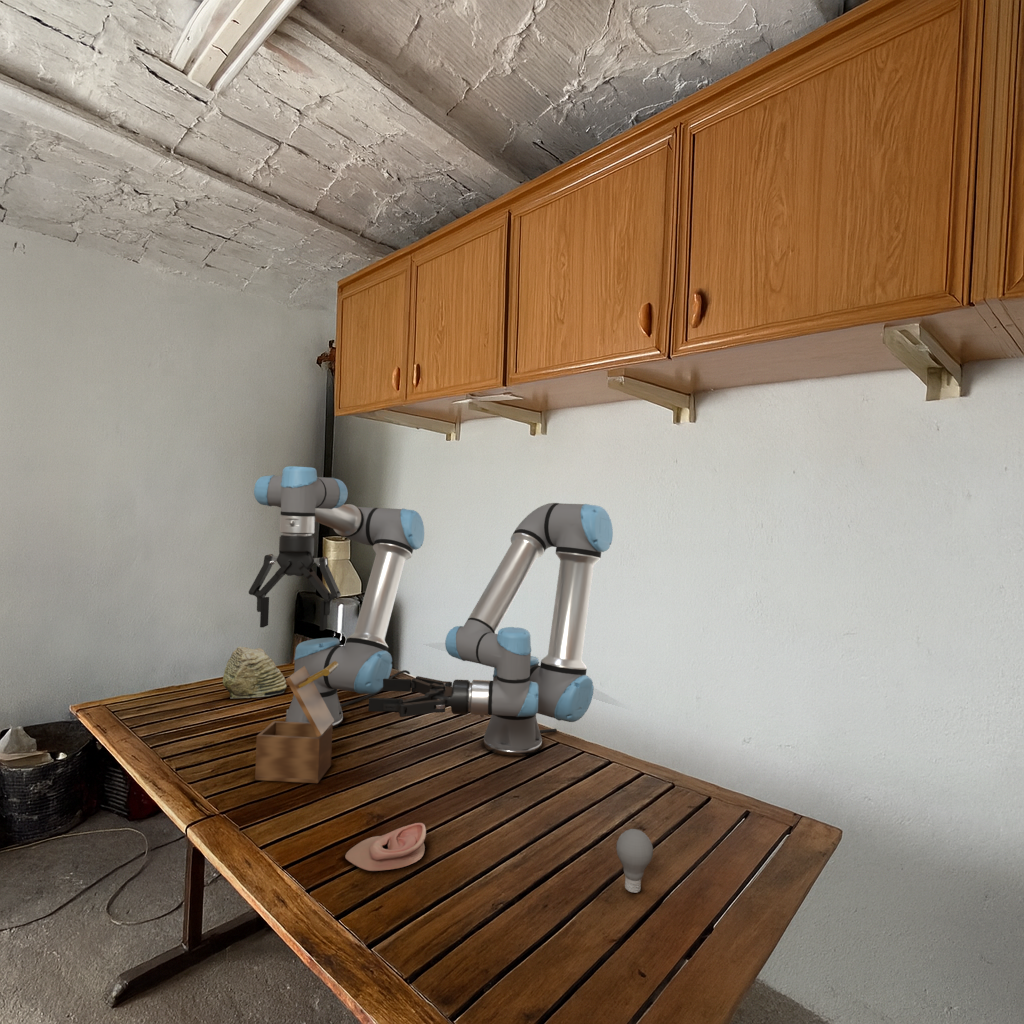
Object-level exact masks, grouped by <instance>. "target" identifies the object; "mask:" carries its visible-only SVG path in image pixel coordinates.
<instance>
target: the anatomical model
mask: <svg viewBox="0 0 1024 1024" xmlns="http://www.w3.org/2000/svg"><path fill="white" fill-rule="evenodd" d="M426 837H427V827H426V824H425V823H423V822H415V823H412V824H408V825H404V826H402V827H399V828H396V829H394V830H392V831H390V832H388V833H384V834H382V835H375V836H372V837H367V838H365V839H364V840H361V841H360V842H358V843H357V844H356V845H353V847H351V848H350V849H349V850H348V851H347V852H346V853H345V856H344V857H345V860H347V862H349V863H350V864H352V865H354V866H356V867H357V868H360V869H362V870H364V871H367V872H378V871H380V872H381V871H389V870H396V869H400V868H404V867H407V866H410V865H412V864H415V863H417V862H418V861H420V860H421V859H422V858H423V857H424V854H425V851H426V849H425V848H426V846H425V843H424V842H425V840H426Z"/></svg>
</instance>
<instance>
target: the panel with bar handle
mask: <svg viewBox="0 0 1024 1024" xmlns="http://www.w3.org/2000/svg"><path fill="white" fill-rule="evenodd" d="M337 667H338V663H337V662H336V661H334V662H332V663H331V664H330V665H329V666H327V667H326V668H325V669H323V670H321V671H319V672H318V673H316V674H314V675H312V676H310V675H309V673H308V671H307V669H306V668H305V666H304V667H302V668H300V669H299V670H298V671H296V672H295V673H294V672H293V673H292V674H291V675H289V676H288V677H286V678H285V680H286V683H287V684H288V686H289V688H290V690H291V691H292V693H293V696H294V695H295V697H296V699H297V701H298V702H299V704H300V706H301V708H302V710H303V712H304V713H305V715H306V717H307V719H308V721H309V723H310V724H311V726H312V728H313V730H314V732H315V733H316V735H317V737H319V736H321V735H322V734H323V733H324V732H325V731H326V730H327V728H328V727H329V726H330V725H331V724H332V723H333V722H334V719H333V717H332V715H331V713H330V711H329V710H328V708H327V706H326V704H325V702H324V700H323V699H322V697H321V695H320V693H319V691H318V689H317V688H316V686H315V684H314V682H313V681H314V680H316V679H318V678H320V677H322V676H323V675H324V676H328V675H329V674H330V673H331V672H332V671H334V670H335V669H336V668H337Z"/></svg>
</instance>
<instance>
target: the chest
mask: <svg viewBox="0 0 1024 1024" xmlns="http://www.w3.org/2000/svg"><path fill="white" fill-rule="evenodd" d="M332 726H333V724H331V725H330V726H329V727H328V728H327V730H326V731H325V732H324V733H323V734H322V735H321V736H319V737H317V735H316V733H315V732H314V730H313V728H312V726H311V724H310V723H303V722H286V721H282V720H280V721H279V720H273V721H272V722H271V723H269V725H267V726H266V727H265V728H264V729H263V730H262V731H260V732H259V733H258V734H256V739H255V740H256V741H255V771H254V780H255V781H268V782H282V783H283V782H284V783H285V782H287V783H302V784H303V783H305V784H319V783H320V782H321V780H322V779H323V777H324V776H325V774H326V773H327V772H328V771H329V769H330V767H331V766H332V751H333V750H332V749H333V748H332V747H333V729H332Z"/></svg>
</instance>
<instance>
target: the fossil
mask: <svg viewBox="0 0 1024 1024" xmlns="http://www.w3.org/2000/svg"><path fill="white" fill-rule="evenodd" d="M222 676H223V677H222V685H223V687H224V688H225V690H226V691H228V693H229V698H230V699H250V698H264V697H271V696H275V695H281V694H284V693H285V691H286V689H287V687H288V686H287V681H286V678H285V676H284V674H283V673H282V672H281V669H279V668H278V667H277V665H276V663H275V662H274V660H273V659H272V658H271V657H270V656H269V655H268V654H267V653H266V652H265V650H264V649H263V648H260V647H258V648H251V647H247V646H246V647H245V646H238V647H237V648H236V649H235V650H233V651H232V653H231V656H230V657H229V659H228V660H227V663H226V666H225V668H224V671H223V675H222Z"/></svg>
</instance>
